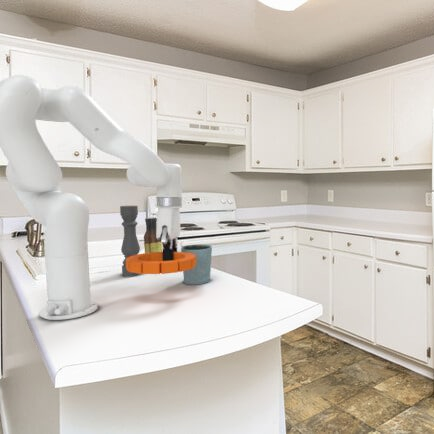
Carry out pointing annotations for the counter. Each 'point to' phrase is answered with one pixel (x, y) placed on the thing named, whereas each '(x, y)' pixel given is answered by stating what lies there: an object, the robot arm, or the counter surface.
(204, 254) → the blue-grey plant pot
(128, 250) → the candle holder
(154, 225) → the sauce bottle
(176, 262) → the ring
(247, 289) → the counter surface
